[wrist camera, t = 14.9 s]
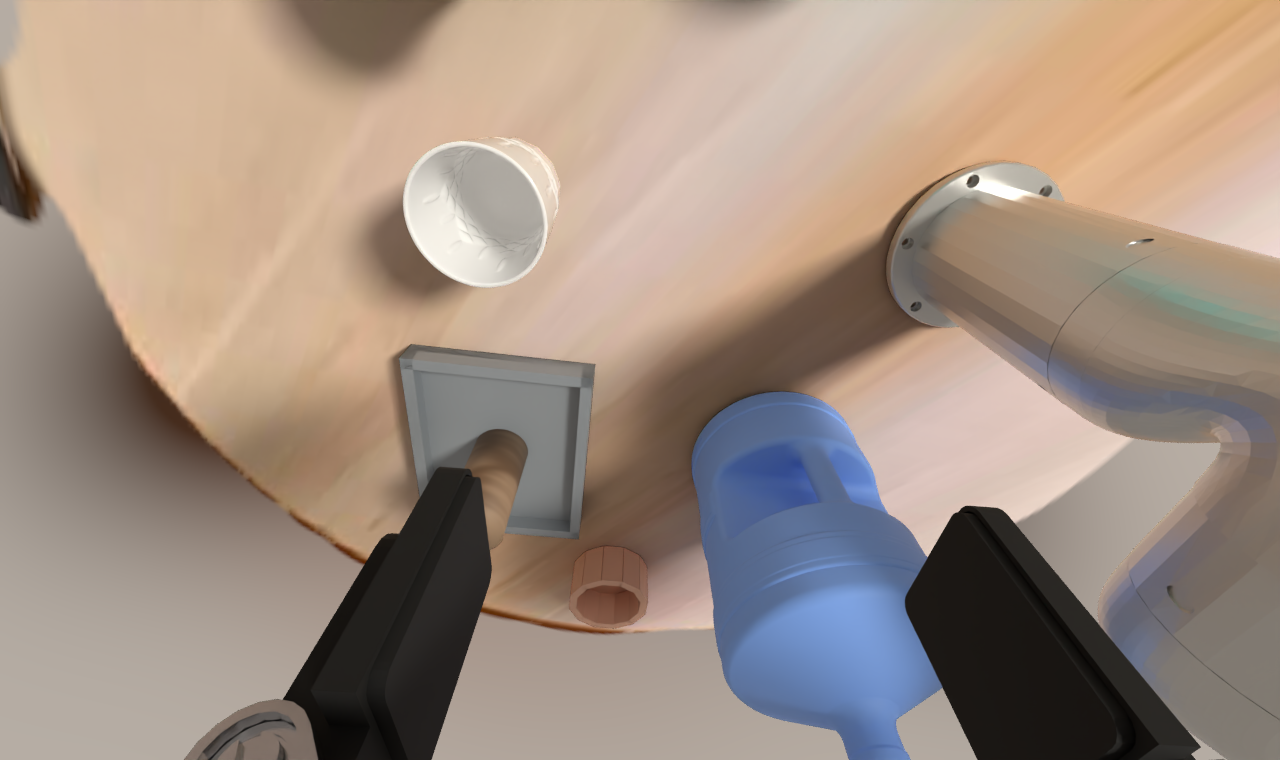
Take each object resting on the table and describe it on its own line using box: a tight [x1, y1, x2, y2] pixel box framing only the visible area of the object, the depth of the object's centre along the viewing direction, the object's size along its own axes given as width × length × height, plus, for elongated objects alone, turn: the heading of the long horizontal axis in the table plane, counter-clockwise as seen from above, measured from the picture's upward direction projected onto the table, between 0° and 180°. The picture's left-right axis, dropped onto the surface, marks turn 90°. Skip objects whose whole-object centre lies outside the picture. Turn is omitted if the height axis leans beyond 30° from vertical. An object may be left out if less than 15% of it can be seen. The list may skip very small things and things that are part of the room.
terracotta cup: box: [569, 546, 648, 629], centre depth 56 cm, size 9×9×4 cm
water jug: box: [692, 392, 942, 760], centre depth 36 cm, size 16×16×28 cm
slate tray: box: [399, 344, 595, 539], centre depth 46 cm, size 16×20×2 cm
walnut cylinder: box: [465, 429, 528, 550], centre depth 42 cm, size 5×5×10 cm
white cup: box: [403, 137, 561, 288], centre depth 31 cm, size 8×8×10 cm
